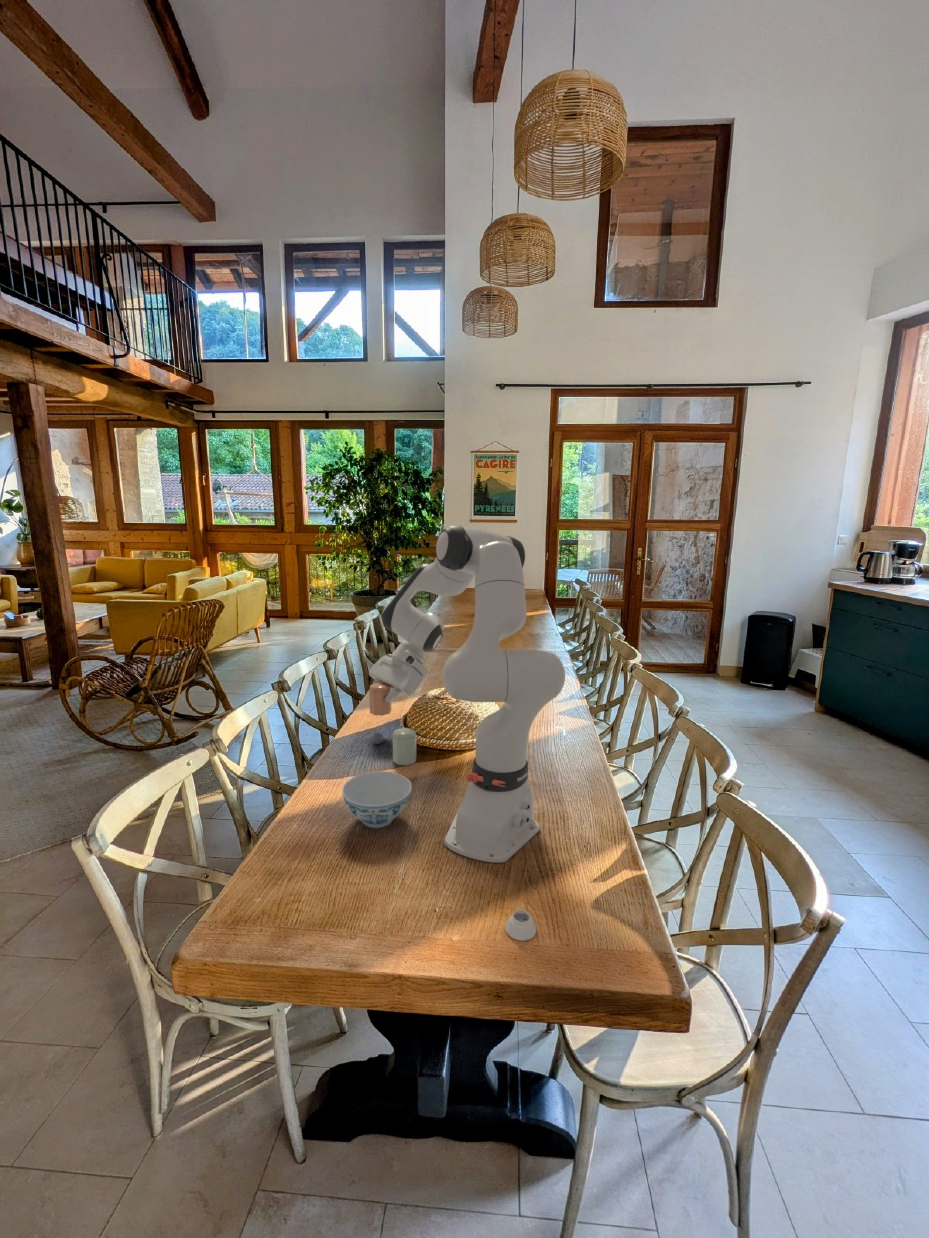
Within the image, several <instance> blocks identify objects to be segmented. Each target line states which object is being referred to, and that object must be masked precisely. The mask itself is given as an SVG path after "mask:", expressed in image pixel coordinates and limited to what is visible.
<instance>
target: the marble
mask: <svg viewBox="0 0 929 1238" xmlns="http://www.w3.org/2000/svg"><path fill="white" fill-rule="evenodd" d="M371 738H372V739H371V740H372V742H373V743H374V744H376V745H380V744H382V743H383V742H384V739H385V738H384V735H383V734H382V733H381V732H375V733H374V734H373V735H372V737H371Z"/></svg>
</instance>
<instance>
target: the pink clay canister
mask: <svg viewBox="0 0 929 1238" xmlns="http://www.w3.org/2000/svg"><path fill="white" fill-rule="evenodd" d="M368 690H369V713H370V714H372V715H373V716H382V717H383V716H386V715H390V714H391V712H392V700H391V701H390V702H389V703H388V702H386V701H385V700H383V697H385V695H386V694H387V695H388V694H389V693H390V692H391V691H392V688H391V685H389V684H387V683H375V684H373V683H372V684H370V685H369V689H368Z"/></svg>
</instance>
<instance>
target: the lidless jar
mask: <svg viewBox="0 0 929 1238" xmlns="http://www.w3.org/2000/svg"><path fill="white" fill-rule="evenodd" d="M504 928H505V931H506V935H508V936H510V938H511V939H513V940H516V941H521V942H525V941H529V940H531V939H533V938H534V937H535V935H536V934H537V926H536V924H535V922H534V920H533V918H532V916H531V914H530V912H528V911H527V910H526V909H523V908H522V909H516V910H514V911H513V912H512V914H511V915H510V917H508V920H506V923H505V927H504Z"/></svg>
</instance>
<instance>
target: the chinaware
mask: <svg viewBox="0 0 929 1238" xmlns="http://www.w3.org/2000/svg"><path fill="white" fill-rule="evenodd" d="M412 789H413V787H412V782H411V781H410V780H409V779H408V778H407V777H406V776H403V774H399V773H397V772H393V771H383V770H382V771H370V772H365V773H361V774H358V775H355V776H354V777H351V778H350V779H349V780H347V781H346V782H345V783H344V784H343V786H342V790H341V791H342V792H341V793H342V798H343V801H344V804H345V806H346V808H347V810H348V811H349V813H350V814H352V816H353V817H355V819H357V820H359V821H361V822H362V824H363V825H365V826H366V827H368V828H373V829H379V828H384V827H386V826H389V825H390V824H391V823H393V821H394V819H395V818H397V817H398V816H399V815H400V814H402V812H404V810H405V808H406V806H407V804H408V803H409V801H410V798H411V796H412V795H411V793H412Z"/></svg>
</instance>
